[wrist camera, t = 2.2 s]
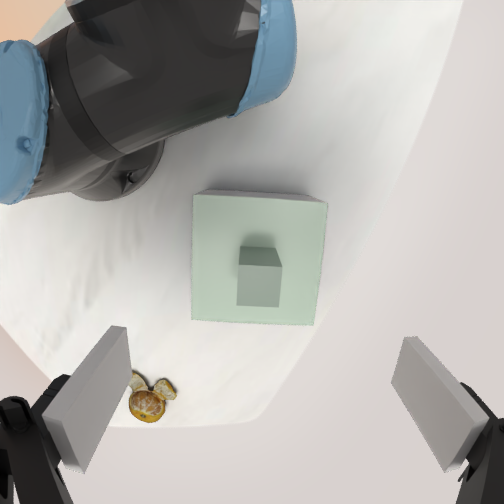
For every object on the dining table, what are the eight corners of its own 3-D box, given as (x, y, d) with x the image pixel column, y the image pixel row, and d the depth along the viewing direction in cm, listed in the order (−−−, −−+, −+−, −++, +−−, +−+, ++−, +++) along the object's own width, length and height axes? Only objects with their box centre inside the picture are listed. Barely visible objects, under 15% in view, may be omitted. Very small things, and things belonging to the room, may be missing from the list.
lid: (195, 307, 34) (180, 350, 25) (198, 192, 31) (179, 200, 22) (308, 313, 34) (326, 357, 26) (320, 200, 31) (347, 211, 23)
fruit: (178, 383, 44) (173, 400, 40) (172, 418, 46) (168, 434, 43) (124, 368, 43) (117, 383, 40) (124, 405, 46) (117, 420, 42)
